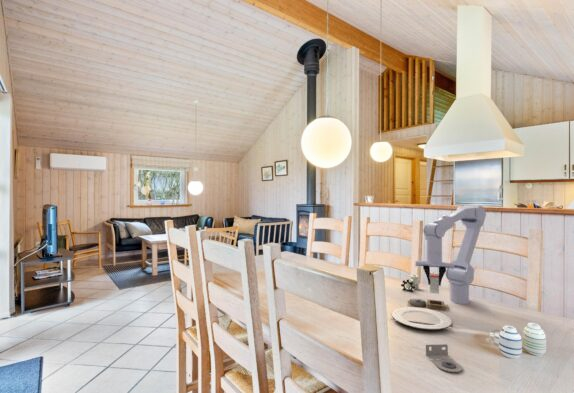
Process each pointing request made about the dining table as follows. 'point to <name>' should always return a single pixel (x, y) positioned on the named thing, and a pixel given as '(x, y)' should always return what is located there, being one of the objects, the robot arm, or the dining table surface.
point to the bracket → (443, 363)
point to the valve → (411, 283)
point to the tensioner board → (428, 304)
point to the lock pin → (434, 283)
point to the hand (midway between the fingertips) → (434, 284)
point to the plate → (398, 317)
